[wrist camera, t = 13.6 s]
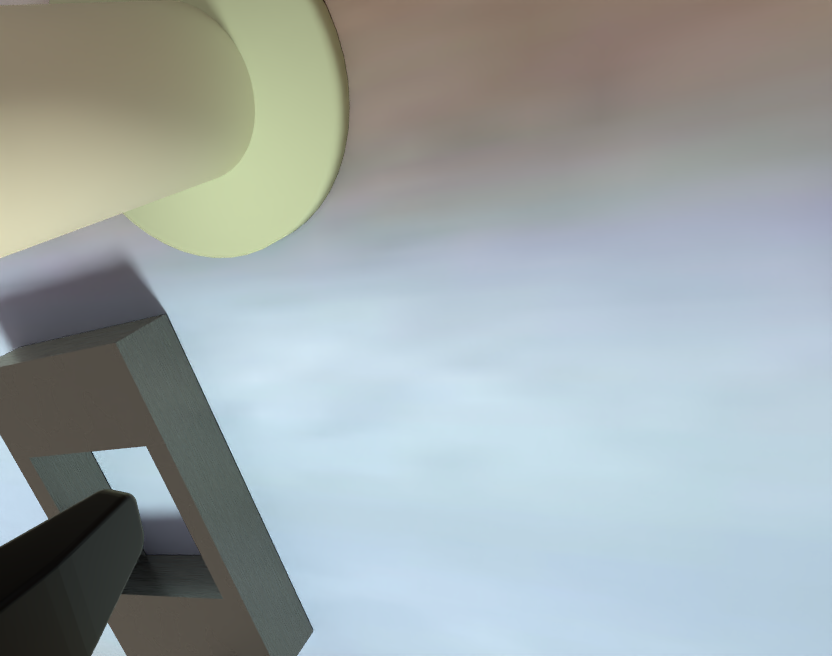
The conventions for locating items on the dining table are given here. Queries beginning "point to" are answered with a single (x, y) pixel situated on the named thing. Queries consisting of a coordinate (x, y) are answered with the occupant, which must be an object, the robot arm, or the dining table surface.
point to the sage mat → (266, 133)
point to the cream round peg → (112, 111)
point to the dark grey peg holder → (182, 473)
